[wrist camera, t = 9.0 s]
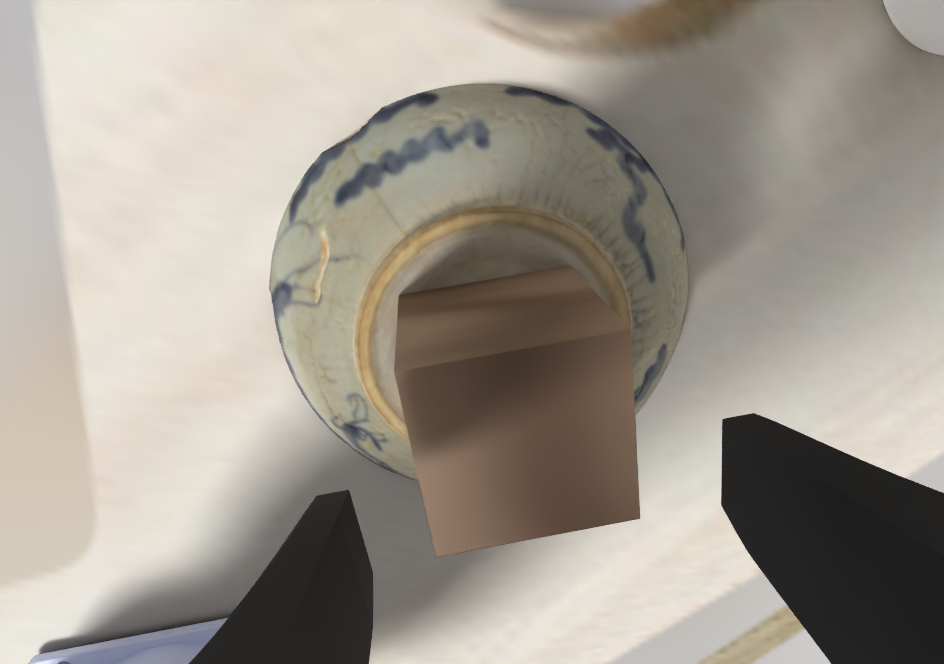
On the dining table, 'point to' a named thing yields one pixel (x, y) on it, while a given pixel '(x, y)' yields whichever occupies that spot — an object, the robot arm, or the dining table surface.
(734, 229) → the dining table surface
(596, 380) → the walnut block
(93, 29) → the dining table surface
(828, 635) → the robot arm
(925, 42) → the can
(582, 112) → the decorative bowl
